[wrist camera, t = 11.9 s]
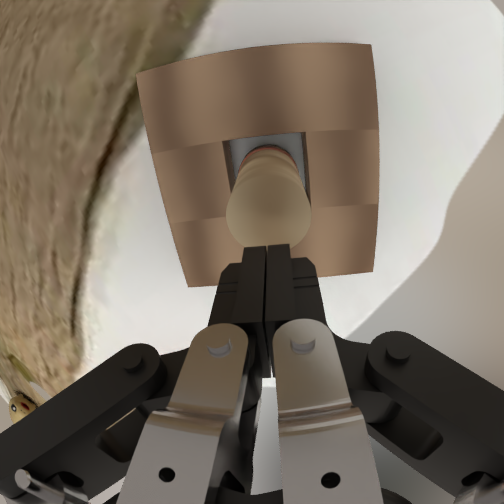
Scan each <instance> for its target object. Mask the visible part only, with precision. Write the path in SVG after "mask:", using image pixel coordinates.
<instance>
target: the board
mask: <svg viewBox="0 0 504 504" xmlns="http://www.w3.org/2000/svg"><path fill="white" fill-rule="evenodd" d="M136 79H137V85H138V90H139V96H140V101H141V107H142V112H143V117H144V122H145V127H146V131H147V136H148V141H149V145H150V150H151V154H152V159H153V163H154V167H155V171H156V175H157V179H158V184H159V187H160V191H161V195H162V199H163V203H164V207H165V210H166V214H167V218H168V221H169V225H170V229H171V232H172V236H173V239H174V243H175V246H176V249H177V253H178V256H179V259H180V263H181V266H182V269H183V272H184V275H185V279H186V282H187V285H188V287H201V286H217V285H219V284H218V283H219V279H220V275H221V272H222V271H223V270H224V269H225V268H226V267H227V266H228V265H229V263H240V262H242V256H243V250H244V246H242V245H241V244H240V243H239V242H238V241H237V240H236V239H235V238H234V237H233V235H232V234H231V232H230V230H229V228H228V225H227V220H226V210H227V205H228V202H229V199H230V196H231V193H232V190H233V188H234V185H235V176H234V170H233V164H232V158H231V152H230V145H229V140H232V139H239V138H247V137H255V136H263V135H273V134H283V133H295V132H301V134H302V145H303V156H304V168H305V181H306V195H307V198H308V200H309V203H310V207H311V224H310V227H309V229H308V231H307V233H306V235H305V236H304V238H303V239H302V240H301V241H300V242H299V243H298V244H297V245H295V246H294V247H292V248H291V249H290V254H291V258H301V257H307V258H308V259H309V260H310V261H311V262H312V263H313V264H314V265H315V268H316V273H317V277H328V276H338V275H348V274H357V273H367V272H373V266H374V257H375V247H376V235H377V221H378V203H379V122H378V105H377V91H376V80H375V71H374V62H373V55H372V47H371V45H370V44H355V43H297V44H281V45H269V46H260V47H251V48H244V49H237V50H231V51H225V52H219V53H214V54H209V55H204V56H199V57H194V58H190V59H186V60H182V61H178V62H174V63H170V64H166V65H163V66H159V67H156V68H153V69H149V70H146V71H143V72H140V73H137V74H136Z"/></svg>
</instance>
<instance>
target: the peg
mask: <svg viewBox="0 0 504 504" xmlns="http://www.w3.org/2000/svg"><path fill="white" fill-rule="evenodd" d="M226 220H227V225H228V228H229V230H230V232H231V234H232V235H233V237H234V238H235V239H236V240H237V241H238V242H239V243H240V244H241V245H242V246H244V247H254V246H266V247H267V248H268V245H277V244H290V249H291V248H292V247H294V246H295V245H297V244H298V243H299V242H300V241H301V240H302V239H303V238H304V236H305V235H306V233H307V231H308V229H309V227H310V224H311V207H310V203H309V200H308V198H307V195H306V192H305V189H304V186H303V184H302V181H301V178H300V176H299V171H298V168H297V165H296V163H295V161H294V160H293V158H292V157H291V155H290V154H289V153H288V152H287V151H285V150H284V149H282V148H280V147H277V146H273V145H263V146H259V147H257V148H255V149H253V150H251V151H250V152H249V153H248V154H247V155H246V157H245V158H244V160H243V161H242V163H241V166H240V168H239V172H238V176H237V179H236V182H235V185H234V188H233V190H232V193H231V196H230V199H229V202H228V205H227V210H226Z"/></svg>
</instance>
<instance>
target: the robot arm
mask: <svg viewBox="0 0 504 504" xmlns="http://www.w3.org/2000/svg"><path fill="white" fill-rule="evenodd" d="M218 284H219V285H218V287H217V291H216V295H215V299H214V303H213V307H212V311H211V315H210V319H209V323H208V327H206V328H204V329H203V330H201V331H200V332H199V333H198V334H197V335H196V336H195V337H194V338H193V340H192V342H191V345H190V347H189V348H186V349H184V350H181V351H177V352H173V353H168V354H164V355H159V354H158V352H157V350H156V349H155V348H154V347H152V346H151V345H148V344H143V343H138V344H132V345H129V346H127V347H125V348H123V349H122V350H120V351H119V352H117V353H116V354H114V355H113V356H112V357H110V358H109V359H107V360H106V361H104V362H103V363H102V364H100V365H99V366H97V367H96V368H94V369H93V370H91V371H90V372H89V373H87V374H86V375H84V376H83V377H81V378H80V379H79V380H77V381H76V382H74V383H73V384H71V385H70V386H68V387H67V388H66V389H64V390H63V391H61V392H60V393H58V394H57V395H56V396H54V397H53V398H51V399H50V400H48V401H47V402H45V403H44V404H43V405H41V406H40V407H38V408H37V409H35V410H34V411H32V412H31V413H29V414H28V415H27V416H25V417H24V418H22V419H21V420H19V421H18V422H16V423H15V424H14V425H12V426H11V427H9V428H8V429H6V430H5V431H3V432H2V433H0V494H1V495H3V496H4V498H5V499H6V502H7V504H91V503H89V502H88V501H89V500H90V499H92V498H93V497H95V496H96V495H98V494H100V493H101V492H102V491H104V490H105V489H107V488H109V487H110V486H112V485H113V484H114V483H116V482H118V481H119V480H120V479H122V478H123V477H125V476H126V477H125V480H124V482H123V485H122V488H121V491H120V492H119V493H117V494H116V495H114V496H113V497H112V498H110V499H109V500H107V501H106V502H105V503H103V504H412V503H411V502H410V501H408V500H407V499H405V498H404V497H402V496H400V495H398V494H397V493H394V492H392V491H389V490H387V489H383V488H380V484H379V479H378V475H377V470H376V465H375V461H374V457H373V452H372V449H371V444H370V440H369V436H368V434H369V435H370V436H371V437H372V438H374V439H375V440H376V441H378V442H379V443H380V444H381V445H383V446H384V447H385V448H387V449H388V450H389V451H390V452H392V453H393V454H395V455H396V456H397V457H398V458H400V459H401V460H403V461H404V462H405V463H407V464H408V465H409V466H411V467H412V468H414V469H415V470H416V471H418V472H419V473H420V474H422V475H423V476H425V477H426V478H428V479H429V480H431V481H432V482H433V483H435V484H436V485H438V486H439V487H441V488H442V489H444V490H445V491H447V492H448V493H450V494H451V495H453V496H454V497H455V500H454V502H453V504H504V391H503V390H501V389H500V388H498V387H496V386H495V385H493V384H491V383H490V382H488V381H487V380H485V379H483V378H482V377H480V376H479V375H477V374H475V373H474V372H472V371H470V370H469V369H467V368H465V367H464V366H462V365H461V364H459V363H457V362H456V361H454V360H452V359H451V358H449V357H447V356H446V355H444V354H443V353H441V352H439V351H438V350H436V349H434V348H433V347H431V346H429V345H428V344H426V343H424V342H423V341H421V340H419V339H418V338H416V337H414V336H413V335H411V334H408V333H406V332H401V331H390V332H385V333H383V334H380V335H379V336H377V337H376V338H375V339H374V340H373V341H372V342H371V344H366V343H359V342H352V341H348V340H345V339H342V338H340V337H339V336H337V335H336V334H334V333H333V332H332V331H331V330H330V328H329V327H328V325H327V322H326V318H325V312H324V307H323V302H322V297H321V292H320V287H319V282H318V278H317V273H316V268H315V265H314V264H313V263H312V262H311V261H310V260H309V259H308V258H307V257H301V258H291V254H290V244H277V245H268V248H267V247H266V246H254V247H244V250H243V256H242V262H240V263H229V265H228V266H227V267H226V268H225V269H224V270H223V271H222V272H221V275H220V279H219V283H218ZM271 366H272V373H273V377H275V378H276V390H277V403H278V415H279V416H278V428H279V443H280V457H281V472H282V487H283V489H281V490H277V491H273V492H268V493H263V494H258V495H250V494H251V488H252V481H253V453H254V447H255V441H256V434H257V428H258V421H259V413H260V407H261V391H262V378H271ZM134 408H136V409H135V410H133V409H134ZM132 410H133V411H132ZM130 411H132V412H131V413H129V412H130ZM128 413H129V414H128ZM126 414H128V415H127V416H125V415H126ZM124 416H125V417H124ZM122 417H124V418H123V419H121V418H122ZM119 419H121V420H120V421H119V422H117V421H118V420H119ZM115 422H117V423H116V424H114V423H115ZM113 424H114V425H113ZM111 425H113V426H112V427H110V426H111ZM108 427H110V428H109V429H107V428H108ZM106 429H107V430H106Z"/></svg>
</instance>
